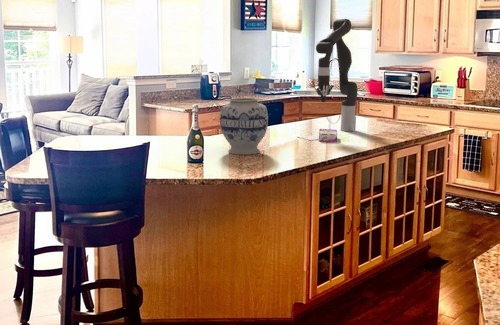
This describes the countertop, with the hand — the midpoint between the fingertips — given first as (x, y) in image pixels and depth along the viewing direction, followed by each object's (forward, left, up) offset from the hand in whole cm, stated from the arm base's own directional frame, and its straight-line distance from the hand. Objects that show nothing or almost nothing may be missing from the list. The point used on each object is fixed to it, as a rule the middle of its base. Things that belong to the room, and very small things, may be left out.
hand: (323, 102), depth 400 cm
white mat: (+6, -1, -23) cm, 24 cm away
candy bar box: (-3, +2, -20) cm, 20 cm away
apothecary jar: (+69, +17, -23) cm, 75 cm away
